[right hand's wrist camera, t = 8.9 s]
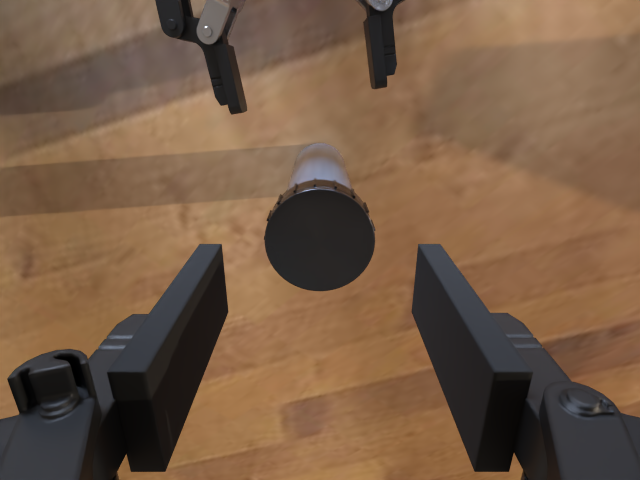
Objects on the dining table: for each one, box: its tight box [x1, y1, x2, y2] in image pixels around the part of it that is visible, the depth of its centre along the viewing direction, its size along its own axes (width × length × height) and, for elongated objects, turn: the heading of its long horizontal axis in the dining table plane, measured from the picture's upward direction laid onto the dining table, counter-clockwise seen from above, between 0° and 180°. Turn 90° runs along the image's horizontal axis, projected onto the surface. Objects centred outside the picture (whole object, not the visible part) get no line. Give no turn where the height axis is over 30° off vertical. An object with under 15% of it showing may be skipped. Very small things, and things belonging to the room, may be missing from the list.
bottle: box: [287, 143, 352, 190], centre depth 25 cm, size 4×4×15 cm
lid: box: [264, 178, 375, 291], centre depth 18 cm, size 5×5×2 cm
